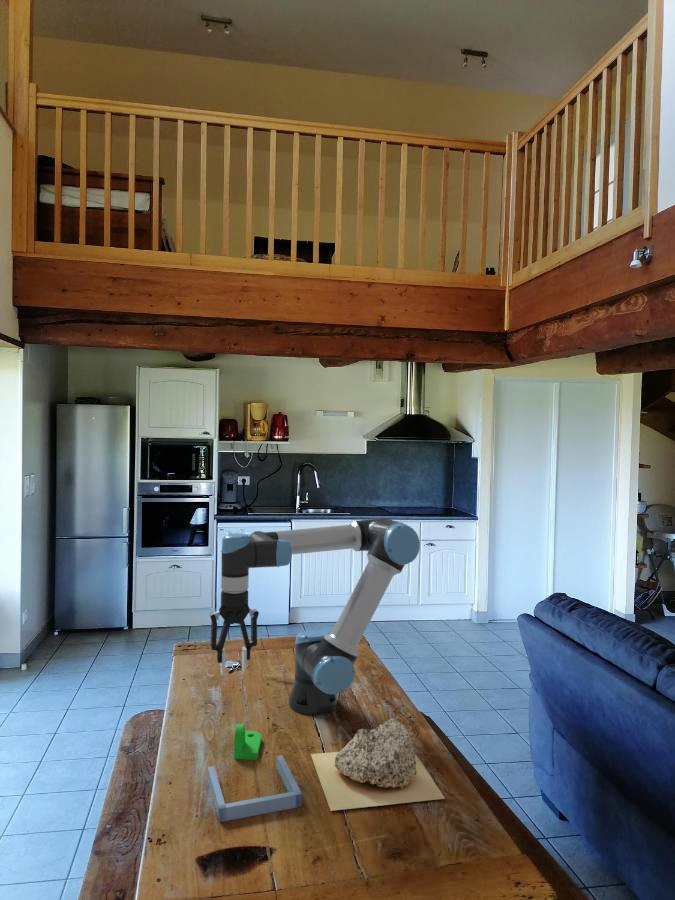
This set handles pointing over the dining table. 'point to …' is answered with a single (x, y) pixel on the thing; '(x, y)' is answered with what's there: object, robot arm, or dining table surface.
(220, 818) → the hub cradle
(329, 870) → the dining table surface
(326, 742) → the dining table surface
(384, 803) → the rock
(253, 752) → the mechanical part
